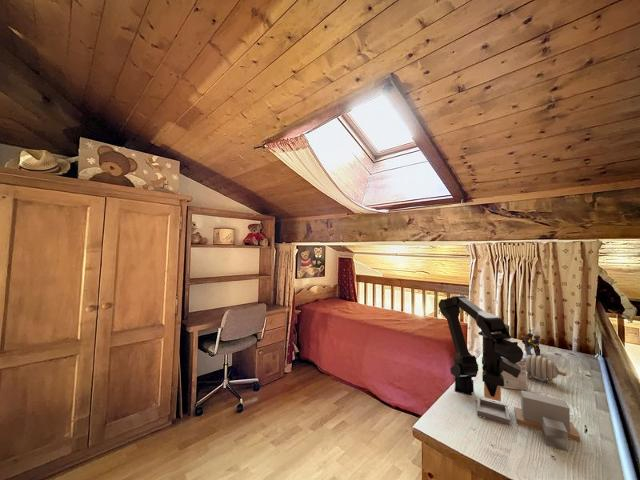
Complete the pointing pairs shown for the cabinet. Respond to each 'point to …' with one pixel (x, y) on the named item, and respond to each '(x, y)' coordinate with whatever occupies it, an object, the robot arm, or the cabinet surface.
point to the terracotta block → (497, 394)
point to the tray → (493, 411)
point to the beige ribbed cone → (541, 368)
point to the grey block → (555, 434)
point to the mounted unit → (544, 412)
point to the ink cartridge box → (516, 382)
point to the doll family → (531, 344)
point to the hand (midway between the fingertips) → (492, 392)
